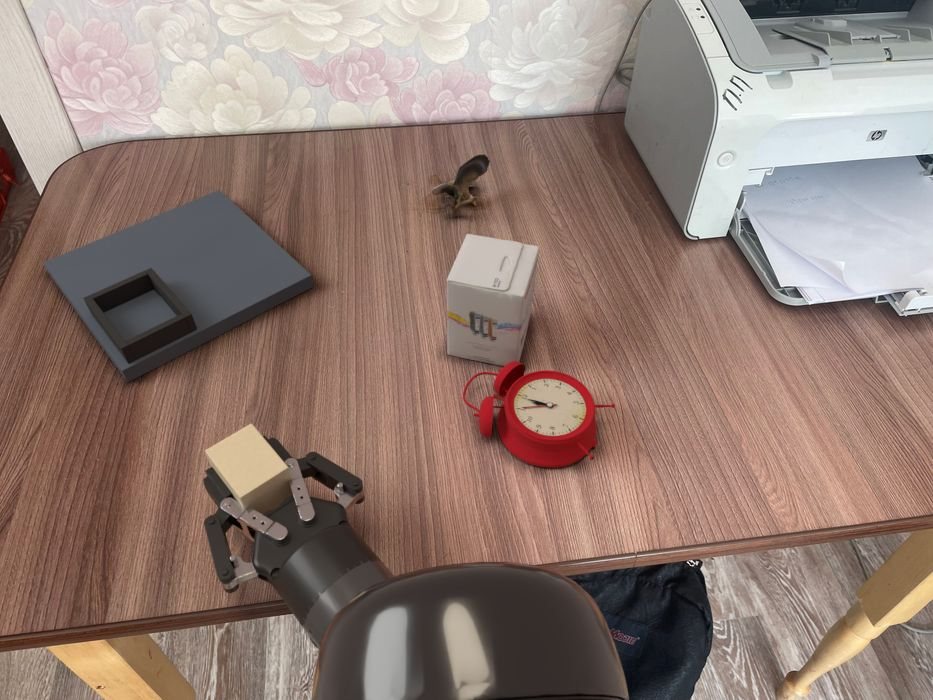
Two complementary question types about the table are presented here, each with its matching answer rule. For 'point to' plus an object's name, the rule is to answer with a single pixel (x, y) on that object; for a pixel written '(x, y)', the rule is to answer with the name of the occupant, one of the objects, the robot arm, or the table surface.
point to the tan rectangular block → (251, 469)
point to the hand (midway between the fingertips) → (237, 458)
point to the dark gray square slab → (176, 281)
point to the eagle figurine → (463, 183)
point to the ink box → (490, 299)
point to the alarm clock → (540, 415)
